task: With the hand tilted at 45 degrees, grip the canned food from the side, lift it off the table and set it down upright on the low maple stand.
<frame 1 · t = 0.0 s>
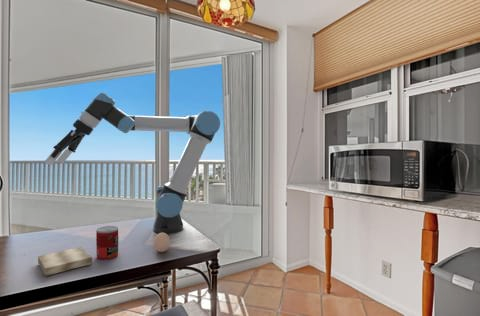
hand: (54, 162, 118), 36 cm above the table, tool tilted 35°, fingers open, 13 cm apart
egg: (161, 252, 114), on the table
canned food: (107, 256, 108), on the table
maple stand: (65, 264, 100), on the table
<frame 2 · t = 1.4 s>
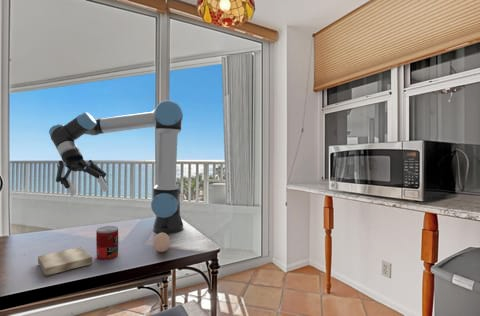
hand: (90, 191, 113), 25 cm above the table, tool tilted 45°, fingers open, 13 cm apart
nothing on the table moved.
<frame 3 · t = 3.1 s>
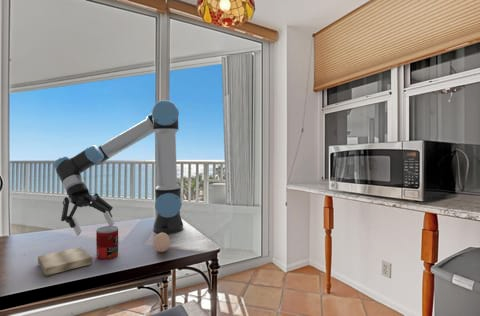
hand: (96, 229, 110), 10 cm above the table, tool tilted 45°, fingers open, 13 cm apart
nothing on the table moved.
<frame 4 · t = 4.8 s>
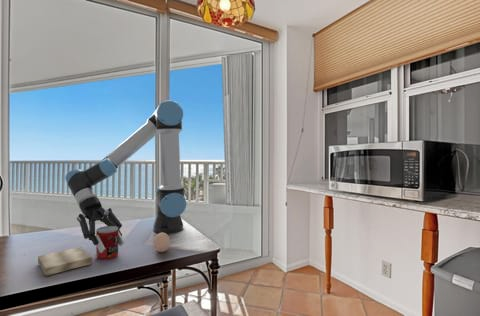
hand: (112, 247, 107), 4 cm above the table, tool tilted 45°, fingers closed on canned food, 8 cm apart
canned food: (107, 256, 108), on the table, touching gripper
everything else where it was.
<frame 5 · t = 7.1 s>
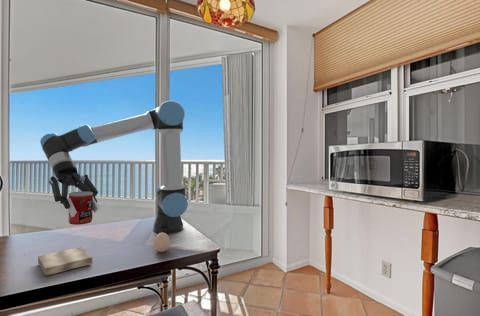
hand: (85, 212, 101), 19 cm above the table, tool tilted 45°, fingers closed on canned food, 8 cm apart
canned food: (80, 222, 103), point 15 cm above the table, touching gripper
everything else where it was.
when the fingers open (9 cm above the table, at t = 9.6 s): canned food drops 1 cm, resting on maple stand.
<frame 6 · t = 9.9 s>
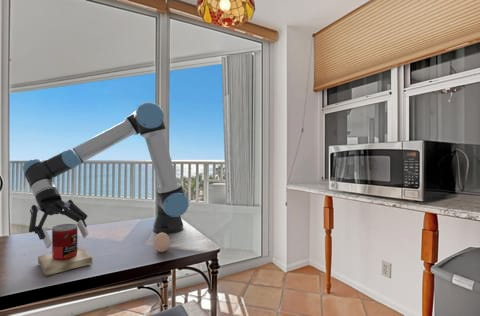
hand: (68, 240, 98), 9 cm above the table, tool tilted 45°, fingers open, 12 cm apart
canned food: (65, 257, 100), point 3 cm above the table, touching maple stand
everything else where it was.
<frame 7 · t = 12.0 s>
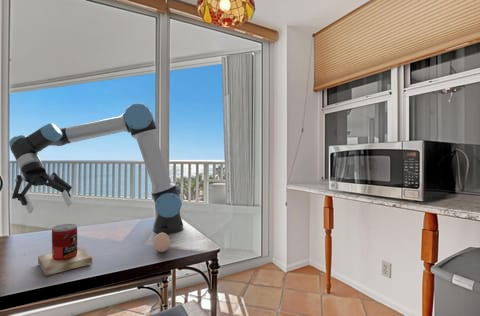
hand: (51, 207, 106), 19 cm above the table, tool tilted 45°, fingers open, 13 cm apart
nothing on the table moved.
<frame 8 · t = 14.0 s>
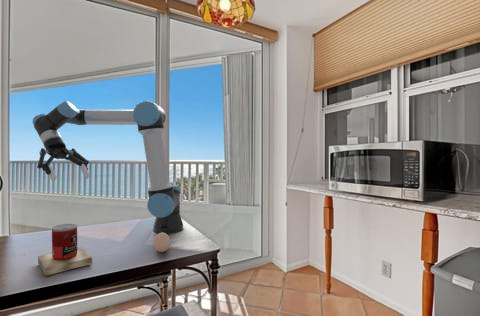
hand: (72, 178, 116), 30 cm above the table, tool tilted 45°, fingers open, 13 cm apart
nothing on the table moved.
at the end: canned food inside the target area on the maple stand (0.1 cm from its centre), point 2.8 cm above the maple stand's base; canned food tilted 0°; the gripper is holding nothing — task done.
